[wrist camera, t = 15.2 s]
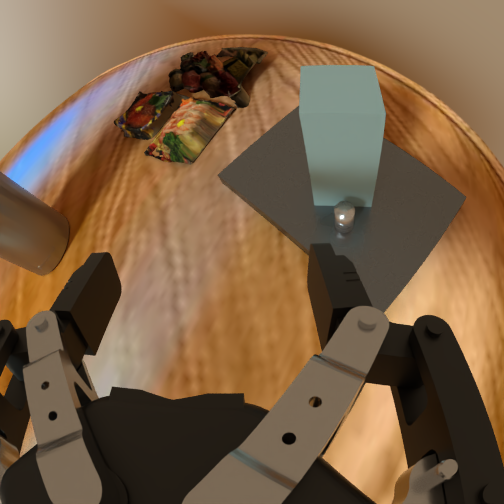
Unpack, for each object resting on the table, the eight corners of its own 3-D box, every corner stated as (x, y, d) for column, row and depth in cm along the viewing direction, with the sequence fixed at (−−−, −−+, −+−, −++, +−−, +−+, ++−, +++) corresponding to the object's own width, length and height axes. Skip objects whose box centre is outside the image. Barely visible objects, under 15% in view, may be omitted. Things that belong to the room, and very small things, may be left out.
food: (194, 54, 44) (187, 40, 41) (289, 66, 37) (285, 47, 34) (110, 145, 40) (97, 131, 37) (198, 179, 33) (185, 161, 30)
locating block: (314, 205, 26) (299, 113, 16) (315, 159, 27) (300, 66, 17) (371, 206, 24) (385, 114, 14) (367, 160, 26) (373, 66, 16)
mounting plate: (222, 183, 31) (208, 160, 27) (310, 106, 32) (306, 81, 28) (378, 317, 22) (387, 309, 19) (461, 204, 23) (475, 182, 20)
